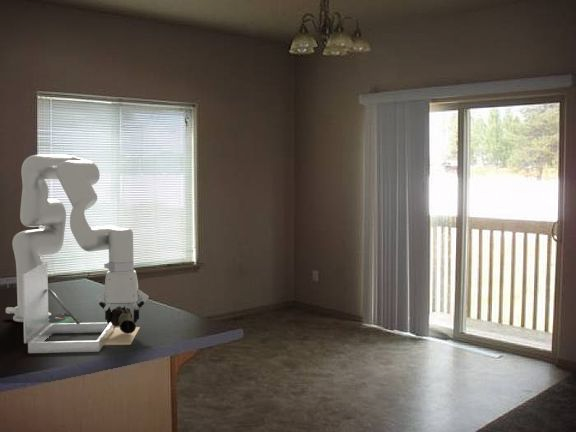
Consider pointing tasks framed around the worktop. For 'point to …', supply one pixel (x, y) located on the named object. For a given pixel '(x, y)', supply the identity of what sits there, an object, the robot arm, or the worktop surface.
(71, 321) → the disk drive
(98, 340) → the case
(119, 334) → the pad
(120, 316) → the dark piece
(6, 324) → the worktop surface
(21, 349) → the worktop surface
